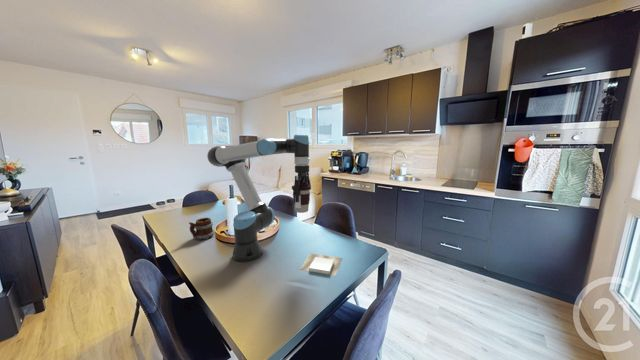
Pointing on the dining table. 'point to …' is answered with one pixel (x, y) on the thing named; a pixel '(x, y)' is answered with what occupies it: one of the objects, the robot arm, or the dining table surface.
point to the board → (311, 257)
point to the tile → (321, 265)
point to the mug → (202, 228)
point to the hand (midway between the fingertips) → (302, 204)
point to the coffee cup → (303, 197)
